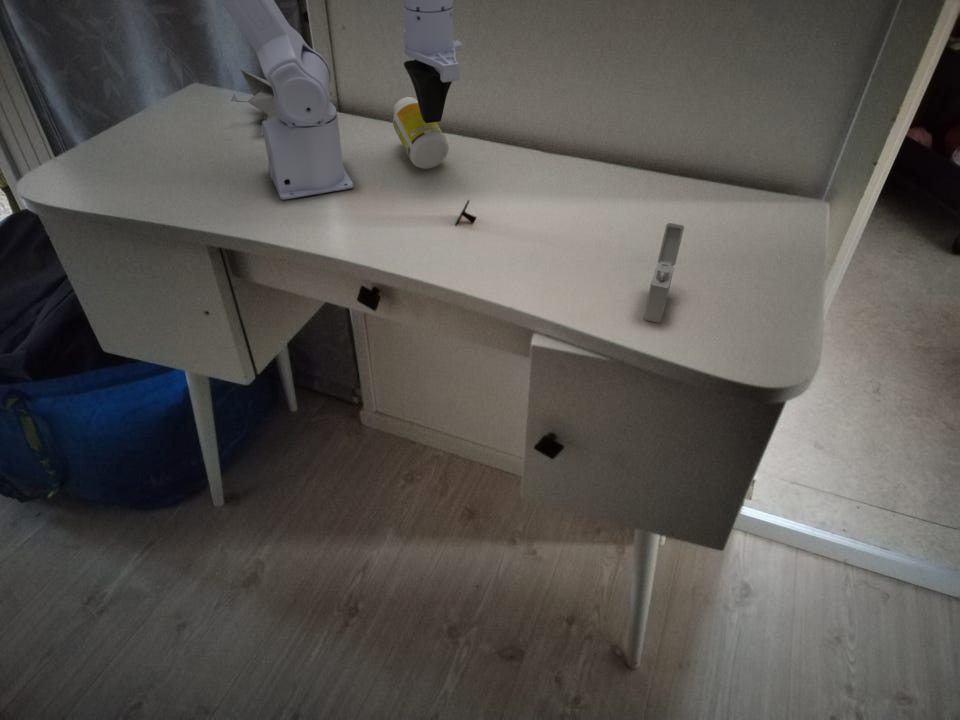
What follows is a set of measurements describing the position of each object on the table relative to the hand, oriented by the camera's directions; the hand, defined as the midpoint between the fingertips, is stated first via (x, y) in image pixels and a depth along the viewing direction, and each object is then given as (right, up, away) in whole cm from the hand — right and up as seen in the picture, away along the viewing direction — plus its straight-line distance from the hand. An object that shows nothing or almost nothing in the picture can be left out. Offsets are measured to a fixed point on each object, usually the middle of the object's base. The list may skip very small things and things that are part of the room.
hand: (431, 120), depth 91 cm
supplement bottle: (0, -3, +4) cm, 5 cm away
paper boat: (-27, +6, +18) cm, 33 cm away
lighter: (+25, -25, -16) cm, 39 cm away
